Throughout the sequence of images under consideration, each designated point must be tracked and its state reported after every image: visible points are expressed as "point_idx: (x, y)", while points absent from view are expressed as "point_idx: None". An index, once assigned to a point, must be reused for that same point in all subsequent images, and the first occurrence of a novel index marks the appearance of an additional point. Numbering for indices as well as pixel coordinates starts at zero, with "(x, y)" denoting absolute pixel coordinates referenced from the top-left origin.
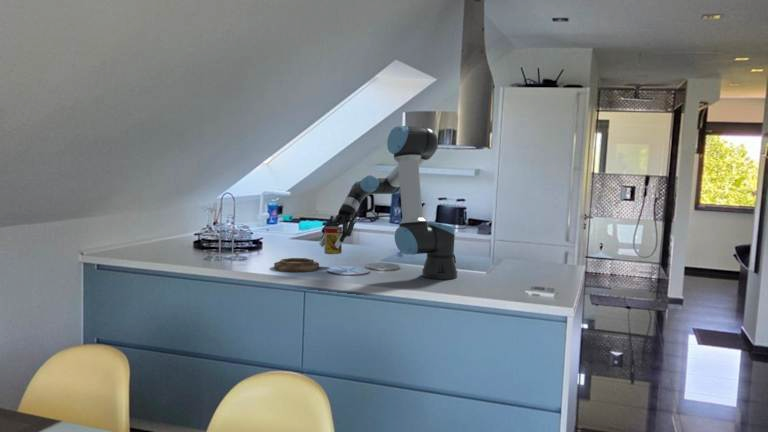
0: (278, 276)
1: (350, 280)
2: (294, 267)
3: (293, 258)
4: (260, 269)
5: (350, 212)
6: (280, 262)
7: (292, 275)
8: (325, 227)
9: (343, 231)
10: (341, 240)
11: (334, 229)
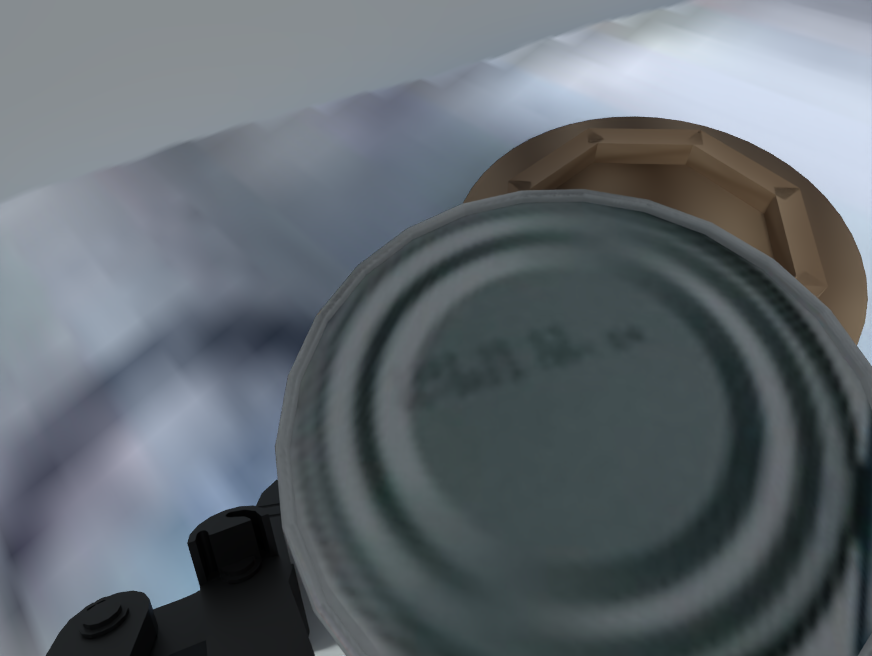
0: (463, 71)
1: (37, 261)
2: (513, 158)
3: (796, 277)
4: (732, 97)
5: None
6: (683, 135)
7: (430, 126)
8: (761, 284)
9: (253, 609)
10: (277, 492)
11: (357, 294)
